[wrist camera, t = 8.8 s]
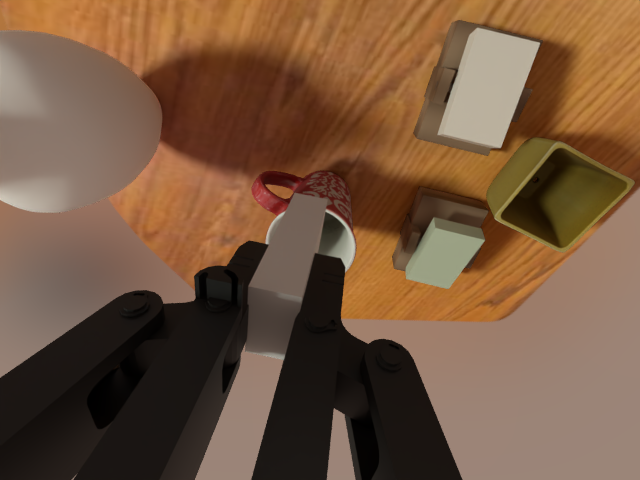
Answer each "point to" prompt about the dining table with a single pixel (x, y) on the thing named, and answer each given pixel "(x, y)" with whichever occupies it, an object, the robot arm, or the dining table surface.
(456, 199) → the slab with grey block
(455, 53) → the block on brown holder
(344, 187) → the mug
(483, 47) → the block
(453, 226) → the rocker green
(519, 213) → the flower pot
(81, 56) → the vase
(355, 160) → the dining table surface
